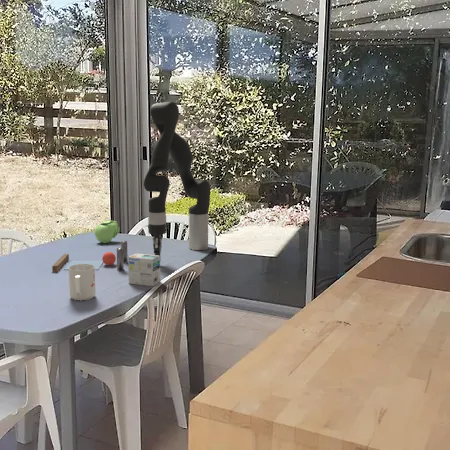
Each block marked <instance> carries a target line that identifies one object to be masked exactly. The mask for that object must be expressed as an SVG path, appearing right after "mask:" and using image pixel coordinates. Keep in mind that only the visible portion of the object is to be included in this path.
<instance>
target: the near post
mask: <svg viewBox="0 0 450 450" xmlns="http://www.w3.org/2000/svg"><path fill="white" fill-rule="evenodd" d="M116 268H117V271H124V270H125V269H124V268H125V267H124V262H123V248H121V247H117V248H116Z"/></svg>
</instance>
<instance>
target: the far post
mask: <svg viewBox="0 0 450 450" xmlns="http://www.w3.org/2000/svg"><path fill="white" fill-rule="evenodd" d="M120 244H121V245H120V248H123V263H128V257H129V256H128V240H121V241H120Z"/></svg>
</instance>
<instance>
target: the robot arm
mask: <svg viewBox="0 0 450 450" xmlns="http://www.w3.org/2000/svg"><path fill="white" fill-rule="evenodd" d="M179 116H180V109H179V107H178V104H177V103H176V102H174V101H164V102H156V103H153V104H152V105H151V106H150V117H151V120H152V122H153V124H154V125H155V128H156V129H157V130H158V132H159V135H160V137H159V138H158V140H157V141H156V142H155V144H154V146H153V149H152V153H151V159H150V165H149V167H148V170H147V173H146V175H145V177H144V178H143V179H144V180H143V187H144V190H145V191H147V192H150V193H152V192H153V193H159V194H158V196H155V197H150V198H149V199H148V217H147V221H148V222H147V224H148V226H147V228H148V234H149V235H153V237H152V240H151V241H152V247H153V248H152V249H153V253H154V254H153V255H160V256H161V253H162V247H163V236H161V235H165V234H167V214H166V201H167V196H168V191H169V188H170V184H171V182H170V179H169V177H168V176H167V175H164V174H163V175H162V174H158V173H160V172H164V171H167V170H168V169H167V168H168V164H169V157H171V158H172V159H171V160H172V161H173V163H174V166H175V167H176V170H177V173H178V175H179V178H180V181H181V184H182V187H183V190H184V192H185V194H186V196H187V197H188V198H190V199H194V200H196V204H194V205H192V206H189V208H188V249H189V250H191V249H192V250H191V251H205V250H207V251H208V250H209V209H210V205H211V203H210V202H211V185H210V183H209V181H207V180H206V179H196V178H195V177H194V174H193V172H192V170H191V169H192V165H193V159H194V156H193V152H192V150H191V147H190V145H189V143H188V142H187V141H186V140H185V139H184V138H183V137H182V136H181V135H180V134H178V133H177V132H176V129H177V125H178V121H179V118H180V117H179ZM160 262H161V258H160Z"/></svg>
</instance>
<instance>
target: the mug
mask: <svg viewBox="0 0 450 450" xmlns="http://www.w3.org/2000/svg"><path fill="white" fill-rule="evenodd" d="M95 271H96V270H95V266H94V265H91V264H77V265H72V266H70V267H69V270H68V288H69V297H70V298H71V299H72V300H73V299H74V301H76V300H80V301H79V302H83V301H82V300H85V301H89V300H92V299H93V298H94V297H95V296H96V293H97V291H96V272H95Z"/></svg>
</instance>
